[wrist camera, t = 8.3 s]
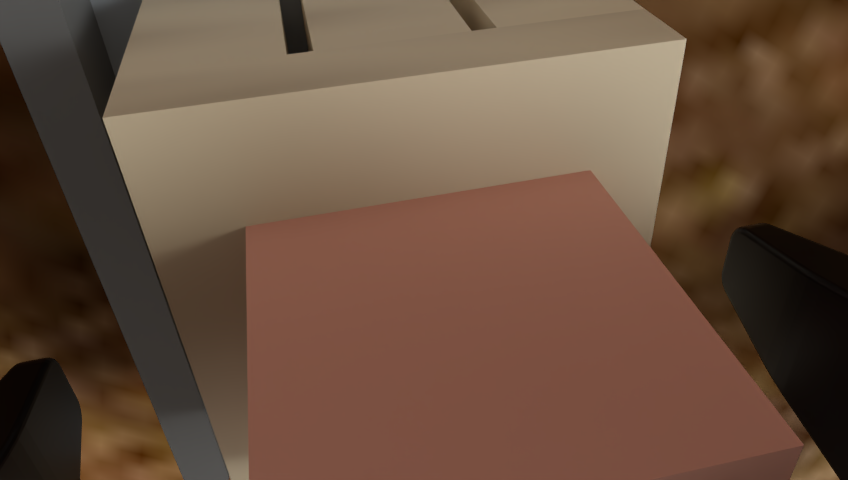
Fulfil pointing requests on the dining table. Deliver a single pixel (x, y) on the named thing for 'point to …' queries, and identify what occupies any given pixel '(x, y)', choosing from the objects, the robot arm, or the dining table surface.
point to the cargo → (491, 348)
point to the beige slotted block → (365, 131)
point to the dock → (113, 191)
